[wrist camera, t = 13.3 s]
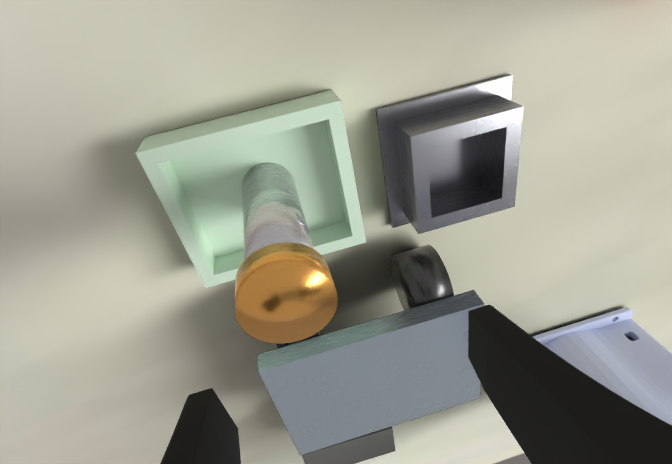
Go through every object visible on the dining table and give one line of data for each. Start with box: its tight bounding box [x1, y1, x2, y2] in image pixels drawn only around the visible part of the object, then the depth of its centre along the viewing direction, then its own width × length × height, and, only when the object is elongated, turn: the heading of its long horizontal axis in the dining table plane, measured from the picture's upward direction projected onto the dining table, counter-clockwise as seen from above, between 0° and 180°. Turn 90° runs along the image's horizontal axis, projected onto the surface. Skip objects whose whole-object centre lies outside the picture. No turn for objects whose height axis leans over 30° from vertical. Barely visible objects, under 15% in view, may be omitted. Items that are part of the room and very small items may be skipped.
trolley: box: [257, 245, 484, 455], centre depth 22 cm, size 11×11×5 cm
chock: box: [302, 426, 395, 464], centre depth 27 cm, size 6×4×4 cm
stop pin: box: [235, 163, 338, 344], centre depth 15 cm, size 3×3×8 cm
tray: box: [135, 90, 366, 288], centre depth 18 cm, size 8×7×2 cm
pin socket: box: [376, 74, 523, 234], centre depth 18 cm, size 6×6×2 cm
